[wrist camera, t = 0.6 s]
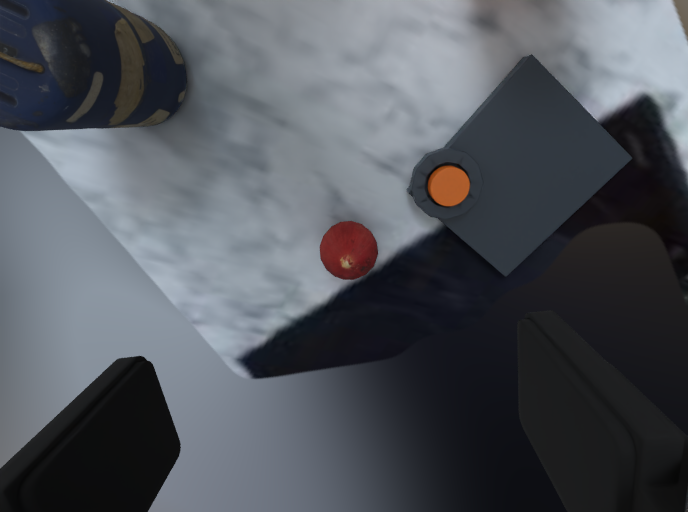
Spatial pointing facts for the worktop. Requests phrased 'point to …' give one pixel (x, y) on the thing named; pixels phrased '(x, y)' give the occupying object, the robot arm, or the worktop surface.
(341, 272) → the onion
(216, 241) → the worktop surface
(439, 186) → the button
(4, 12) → the canister
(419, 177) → the scale
